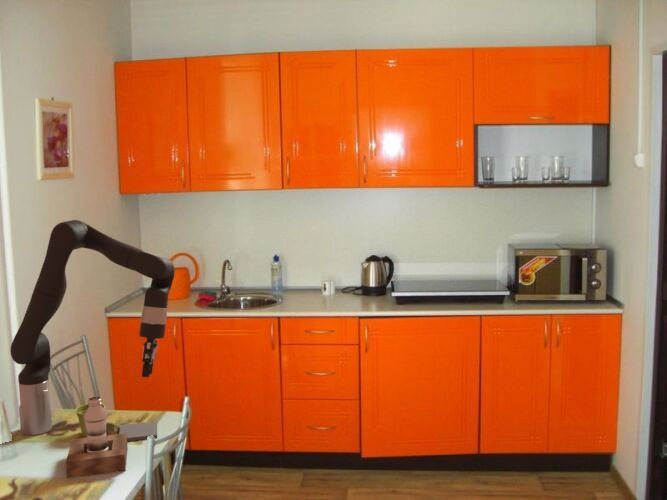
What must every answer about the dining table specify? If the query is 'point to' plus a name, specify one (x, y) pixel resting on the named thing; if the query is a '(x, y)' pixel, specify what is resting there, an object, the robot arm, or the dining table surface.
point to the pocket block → (97, 457)
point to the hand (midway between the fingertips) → (146, 375)
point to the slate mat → (139, 430)
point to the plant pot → (80, 414)
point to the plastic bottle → (96, 426)
